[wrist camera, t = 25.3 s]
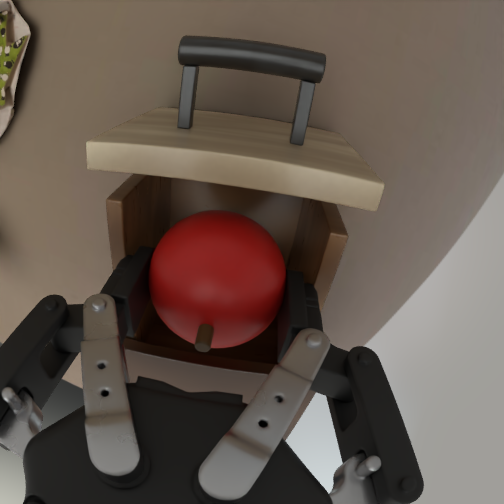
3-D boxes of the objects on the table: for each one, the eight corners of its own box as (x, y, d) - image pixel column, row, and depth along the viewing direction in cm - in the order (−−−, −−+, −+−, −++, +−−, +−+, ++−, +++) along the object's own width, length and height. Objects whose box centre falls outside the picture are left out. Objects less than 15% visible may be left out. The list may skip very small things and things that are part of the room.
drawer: (164, 42, 15) (90, 32, 8) (354, 68, 16) (415, 74, 8) (156, 277, 25) (119, 361, 18) (294, 299, 25) (299, 391, 18)
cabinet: (151, 240, 24) (96, 341, 15) (309, 265, 25) (324, 379, 16) (159, 354, 32) (133, 438, 23) (273, 372, 33) (271, 461, 24)
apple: (280, 183, 15) (285, 274, 9) (287, 285, 18) (291, 391, 12) (157, 195, 15) (94, 283, 10) (183, 290, 19) (152, 388, 13)
